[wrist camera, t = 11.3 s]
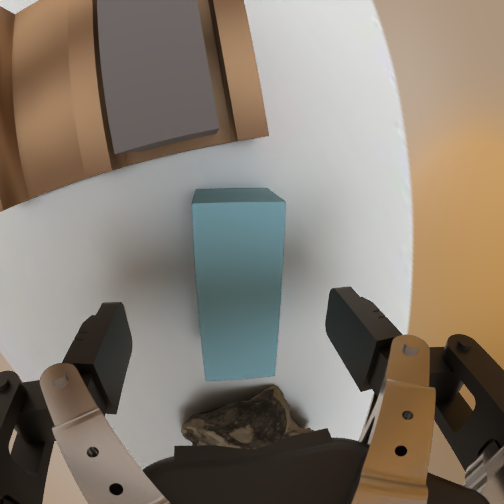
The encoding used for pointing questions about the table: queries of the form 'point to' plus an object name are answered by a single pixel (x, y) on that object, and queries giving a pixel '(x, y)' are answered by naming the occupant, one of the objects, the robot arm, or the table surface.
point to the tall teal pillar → (238, 279)
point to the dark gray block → (154, 73)
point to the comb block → (100, 94)
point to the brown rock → (244, 423)
